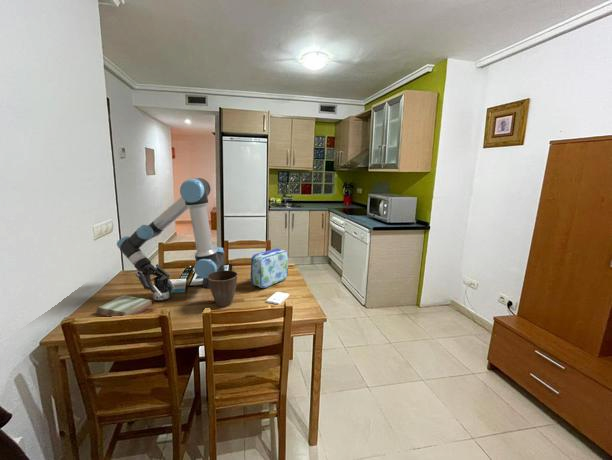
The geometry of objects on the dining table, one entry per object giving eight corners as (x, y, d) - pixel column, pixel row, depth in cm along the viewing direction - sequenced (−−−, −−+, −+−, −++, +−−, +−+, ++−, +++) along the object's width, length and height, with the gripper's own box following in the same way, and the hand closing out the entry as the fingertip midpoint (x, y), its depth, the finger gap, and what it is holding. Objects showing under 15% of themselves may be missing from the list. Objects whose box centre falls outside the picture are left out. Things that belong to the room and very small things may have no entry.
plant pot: (207, 311, 142) (205, 281, 139) (210, 298, 156) (209, 271, 153) (238, 309, 145) (237, 279, 142) (238, 296, 159) (237, 269, 156)
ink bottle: (149, 302, 151) (147, 281, 148) (156, 295, 160) (154, 275, 157) (169, 301, 152) (167, 280, 149) (174, 294, 160) (173, 274, 158)
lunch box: (278, 274, 193) (278, 244, 189) (290, 278, 187) (290, 247, 182) (249, 286, 173) (247, 253, 168) (261, 291, 166) (260, 257, 162)
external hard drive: (289, 296, 161) (279, 305, 150) (276, 294, 164) (265, 302, 153) (289, 293, 161) (279, 303, 150) (276, 291, 164) (265, 300, 153)
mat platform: (151, 305, 147) (151, 299, 147) (126, 320, 133) (125, 313, 133) (124, 300, 152) (123, 294, 152) (97, 314, 138) (96, 307, 138)
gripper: (152, 259, 166) (177, 288, 165) (119, 271, 146) (147, 305, 145) (159, 251, 164) (184, 281, 163) (126, 263, 144) (154, 297, 143)
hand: (166, 292), depth 154 cm, fingers closed on ink bottle, 9 cm apart
